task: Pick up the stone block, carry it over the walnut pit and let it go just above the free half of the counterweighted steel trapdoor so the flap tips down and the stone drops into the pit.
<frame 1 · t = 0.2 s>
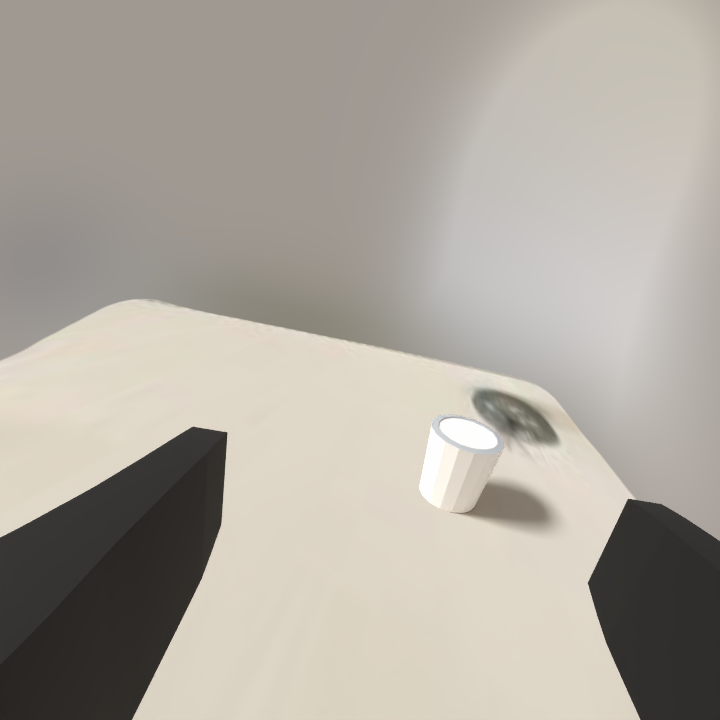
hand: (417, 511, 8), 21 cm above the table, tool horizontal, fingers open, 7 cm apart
white cup: (446, 495, 46), on the table
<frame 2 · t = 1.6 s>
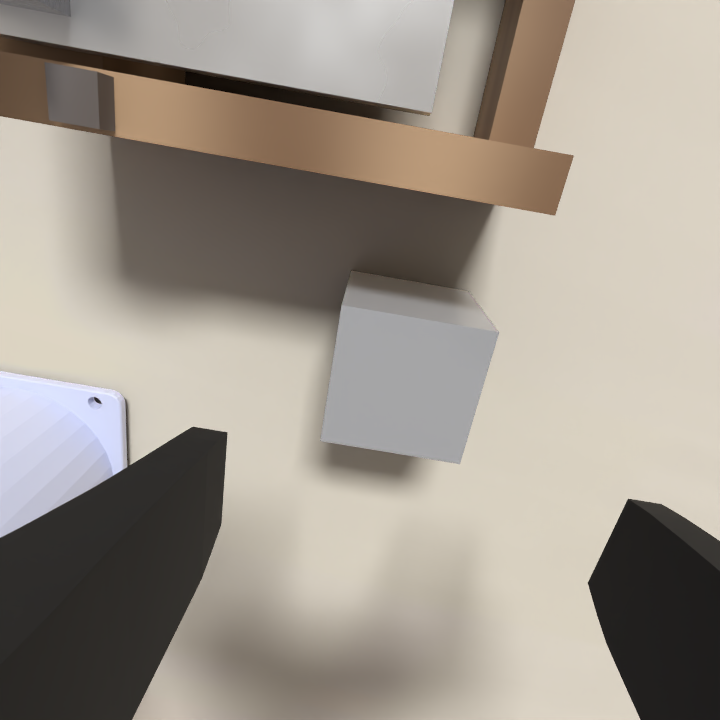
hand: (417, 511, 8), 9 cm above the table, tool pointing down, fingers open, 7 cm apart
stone: (398, 336, 17), on the table
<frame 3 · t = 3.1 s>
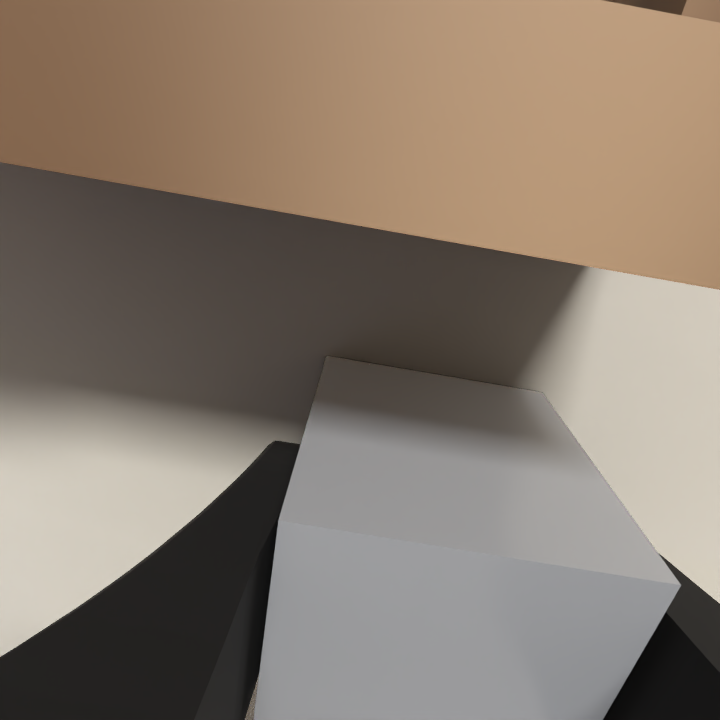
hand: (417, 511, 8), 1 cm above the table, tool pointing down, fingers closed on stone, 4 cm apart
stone: (412, 464, 10), on the table, touching gripper
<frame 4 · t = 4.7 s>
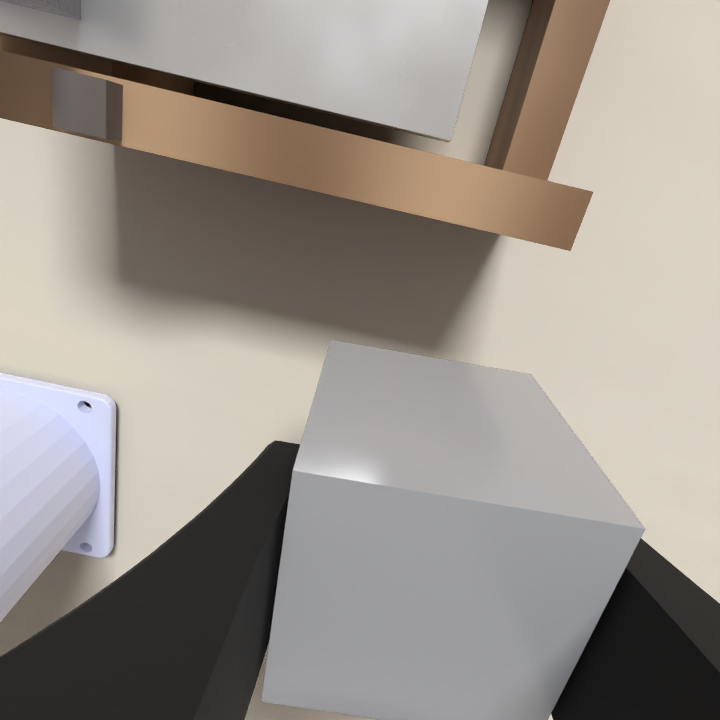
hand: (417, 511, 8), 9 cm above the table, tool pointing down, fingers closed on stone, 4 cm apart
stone: (410, 443, 10), point 7 cm above the table, touching gripper
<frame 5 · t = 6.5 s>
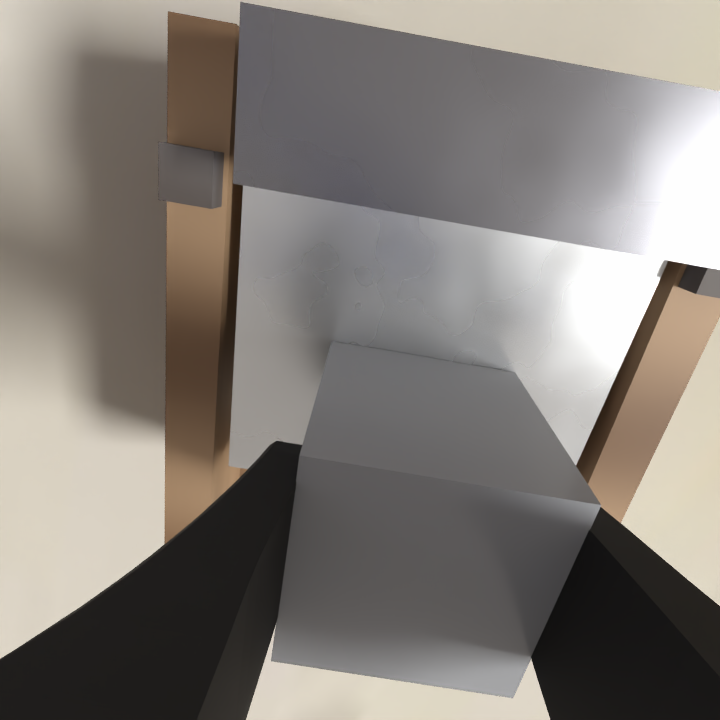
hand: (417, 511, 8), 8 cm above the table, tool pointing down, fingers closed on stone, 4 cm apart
trapdoor: (436, 342, 9), point 6 cm above the table, hinge at -2.9°
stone: (405, 435, 11), point 5 cm above the table, touching gripper
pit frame: (403, 333, 16), on the table
when the fingers open (8 cm above the table, at t = 6.6 s): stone stays where it is, resting on trapdoor.
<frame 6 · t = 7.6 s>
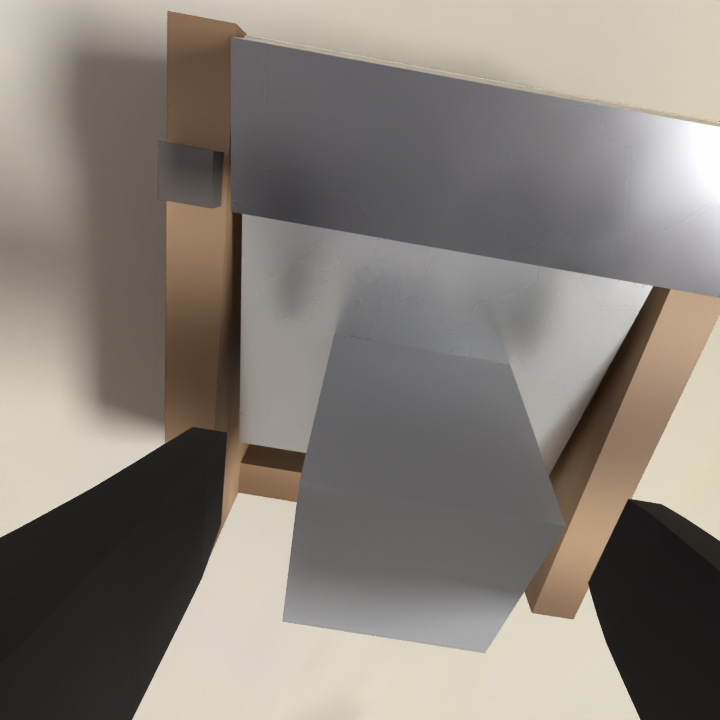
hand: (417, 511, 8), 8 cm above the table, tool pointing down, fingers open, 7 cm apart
trapdoor: (432, 342, 10), point 6 cm above the table, hinge at -11.3°, touching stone
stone: (404, 416, 12), point 4 cm above the table, tilted 11°, touching trapdoor
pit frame: (402, 333, 16), on the table
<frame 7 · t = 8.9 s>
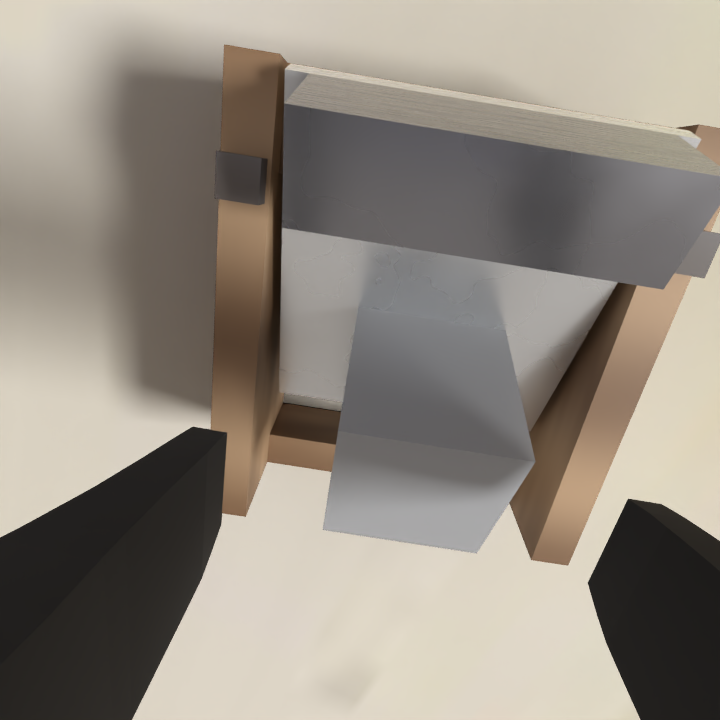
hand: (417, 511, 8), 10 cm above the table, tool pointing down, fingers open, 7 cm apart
trapdoor: (440, 316, 12), point 6 cm above the table, hinge at -19.6°, touching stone
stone: (416, 372, 15), point 4 cm above the table, tilted 20°, touching trapdoor
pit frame: (413, 317, 18), on the table
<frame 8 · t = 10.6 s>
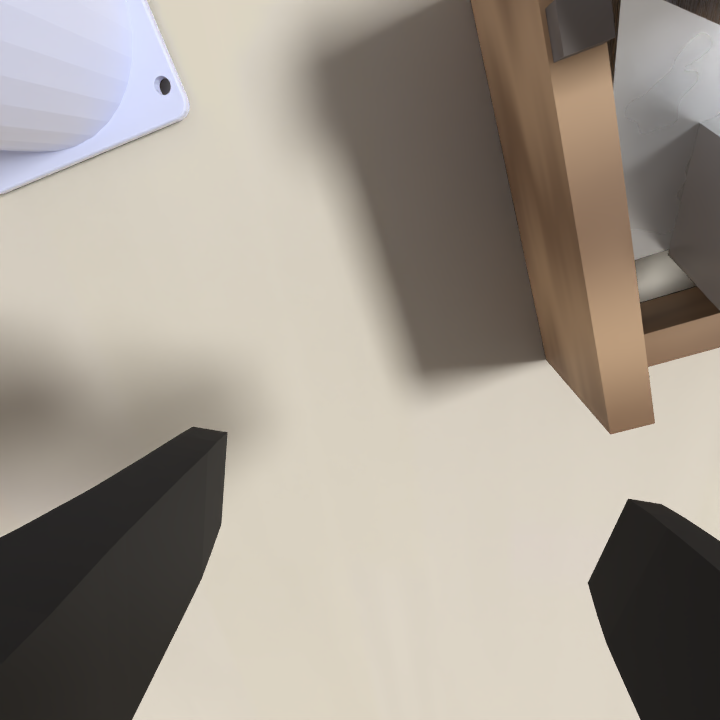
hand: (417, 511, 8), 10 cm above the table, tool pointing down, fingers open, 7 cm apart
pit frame: (691, 157, 15), on the table
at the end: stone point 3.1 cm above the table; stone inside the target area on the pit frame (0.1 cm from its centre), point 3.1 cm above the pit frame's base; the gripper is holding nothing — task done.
